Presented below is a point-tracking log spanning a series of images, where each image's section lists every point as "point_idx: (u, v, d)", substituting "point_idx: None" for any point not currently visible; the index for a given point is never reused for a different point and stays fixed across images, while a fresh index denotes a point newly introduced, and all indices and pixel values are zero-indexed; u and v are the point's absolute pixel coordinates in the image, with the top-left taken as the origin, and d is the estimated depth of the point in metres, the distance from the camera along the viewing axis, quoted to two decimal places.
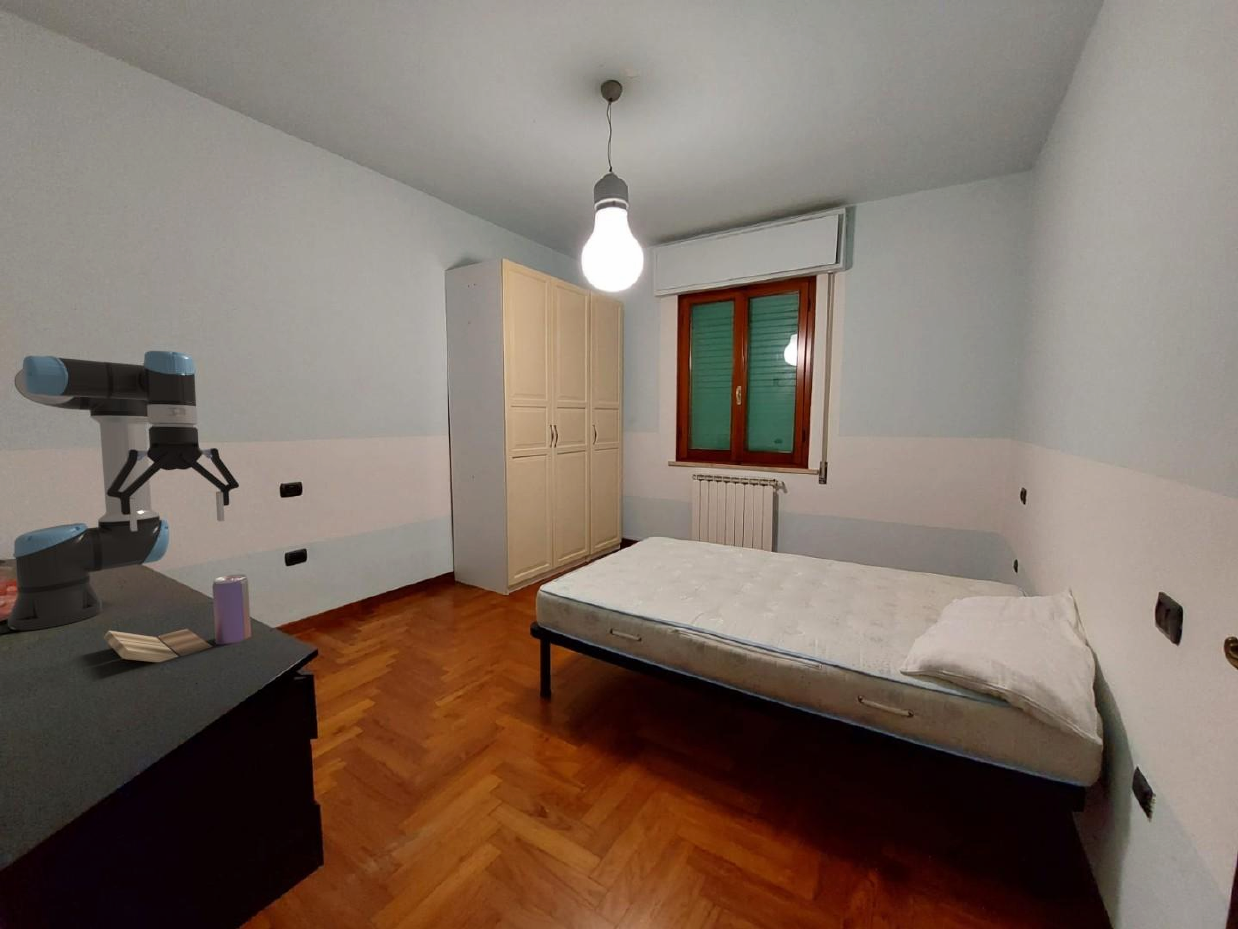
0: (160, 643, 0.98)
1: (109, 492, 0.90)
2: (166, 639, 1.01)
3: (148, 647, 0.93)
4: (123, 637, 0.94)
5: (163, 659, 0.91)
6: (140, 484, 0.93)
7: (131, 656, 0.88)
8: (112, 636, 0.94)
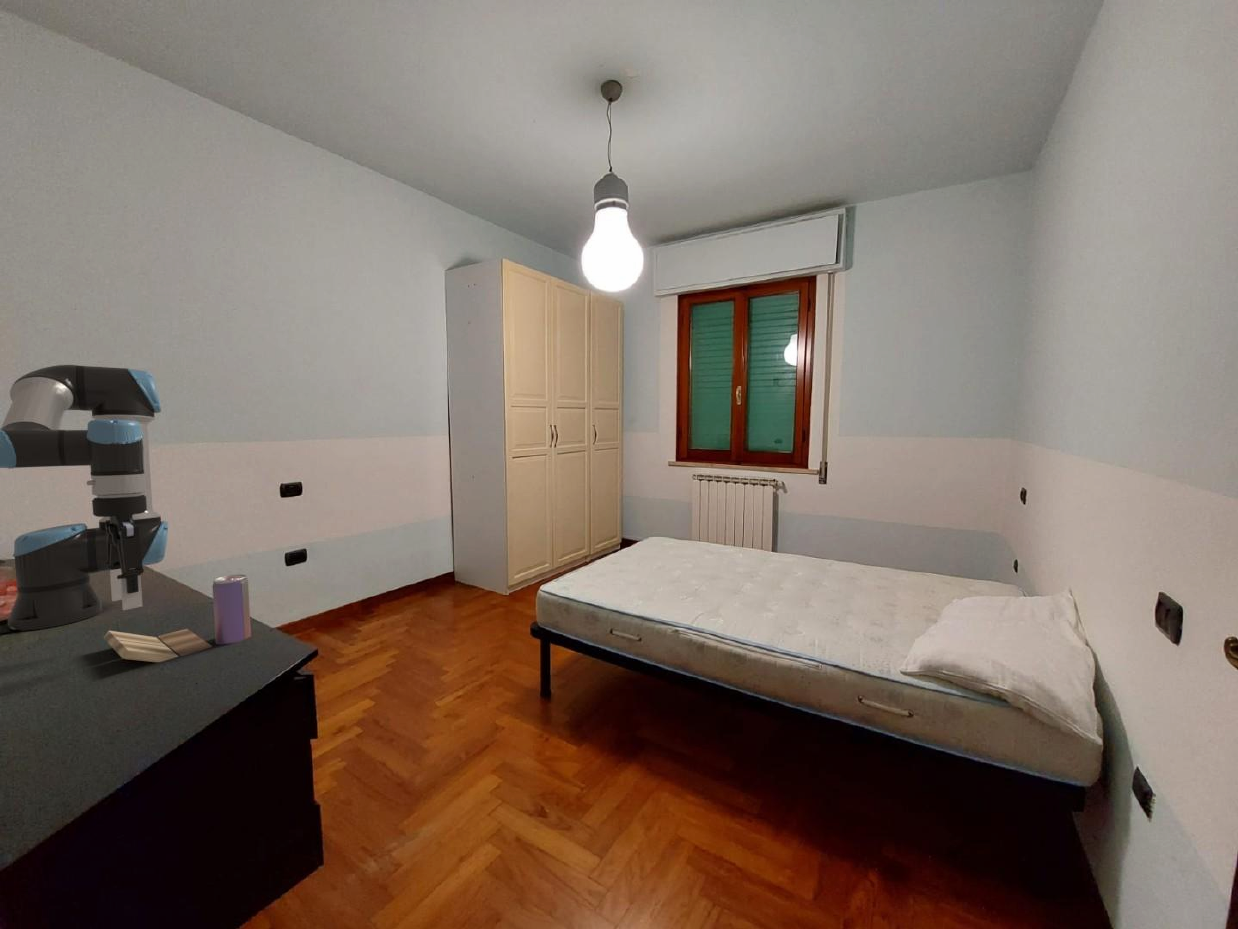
0: (160, 643, 0.98)
1: (106, 561, 0.98)
2: (166, 639, 1.01)
3: (148, 647, 0.93)
4: (123, 637, 0.94)
5: (163, 659, 0.91)
6: (110, 555, 0.96)
7: (131, 656, 0.88)
8: (112, 636, 0.94)
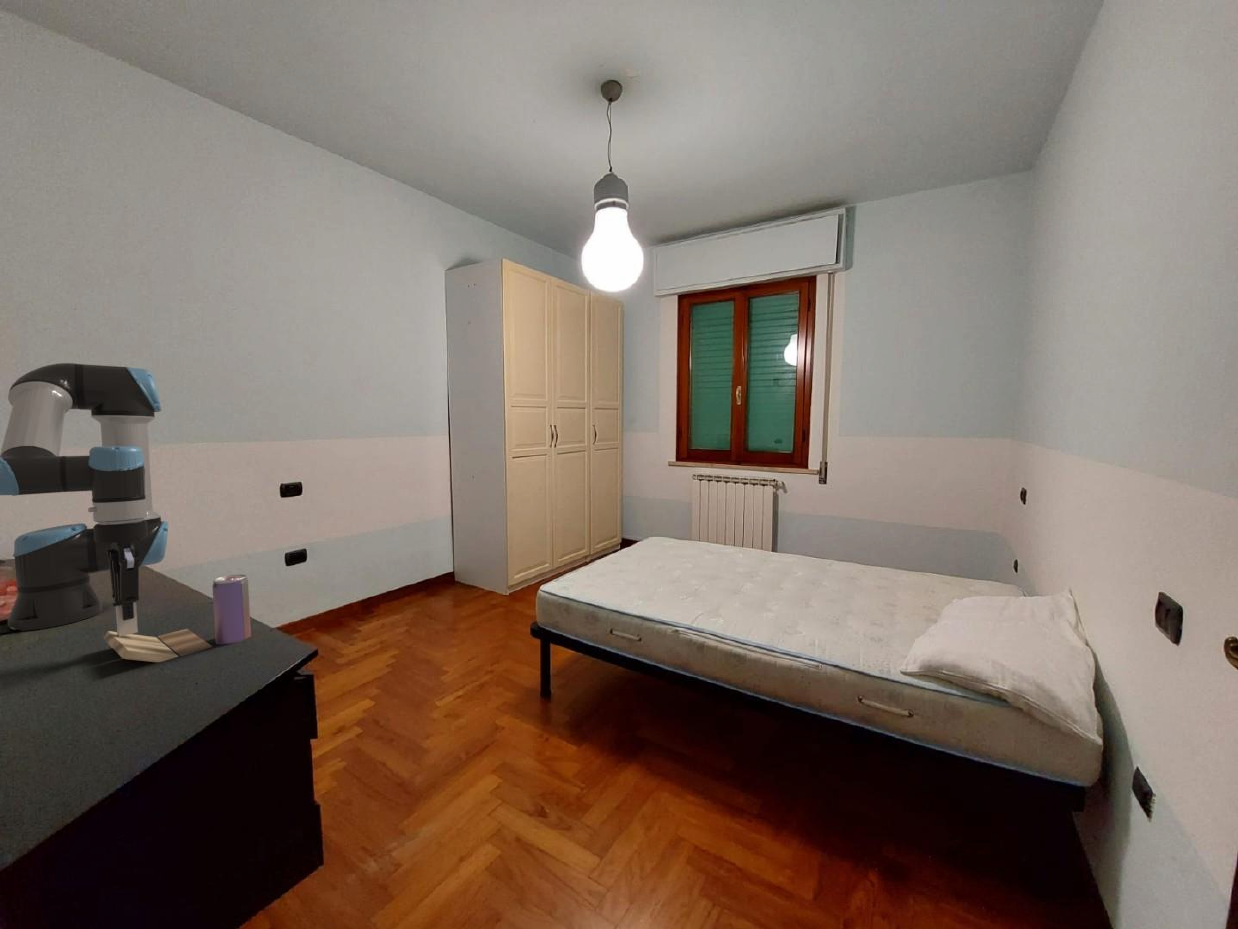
0: (160, 643, 0.98)
1: (112, 595, 0.96)
2: (166, 639, 1.01)
3: (148, 647, 0.93)
4: (123, 637, 0.94)
5: (163, 659, 0.91)
6: (115, 586, 0.95)
7: (131, 656, 0.88)
8: (112, 637, 0.94)
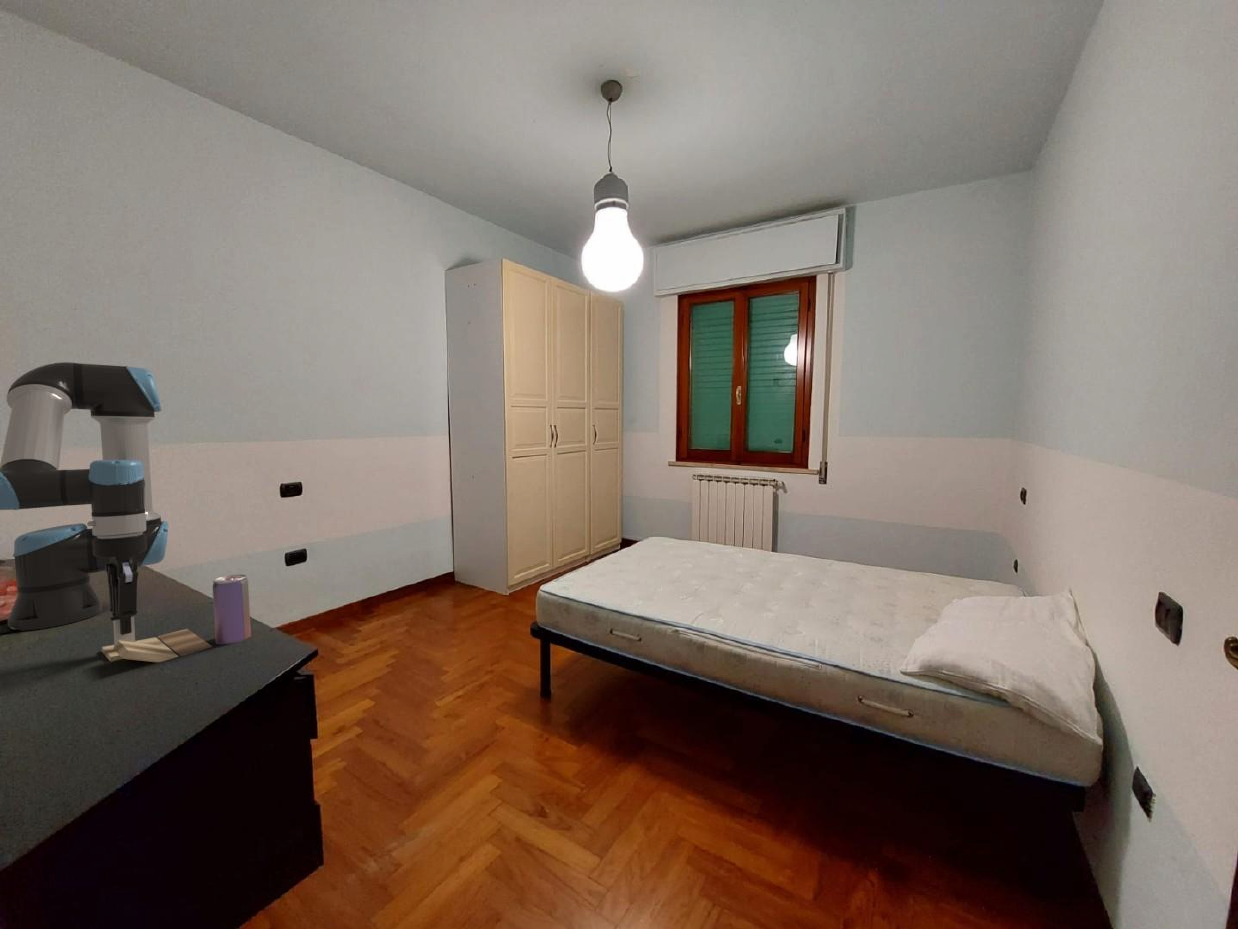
0: (160, 644, 0.98)
1: None
2: (166, 639, 1.01)
3: (148, 647, 0.93)
4: None
5: (163, 659, 0.91)
6: (113, 600, 0.94)
7: (131, 656, 0.88)
8: (106, 653, 0.93)
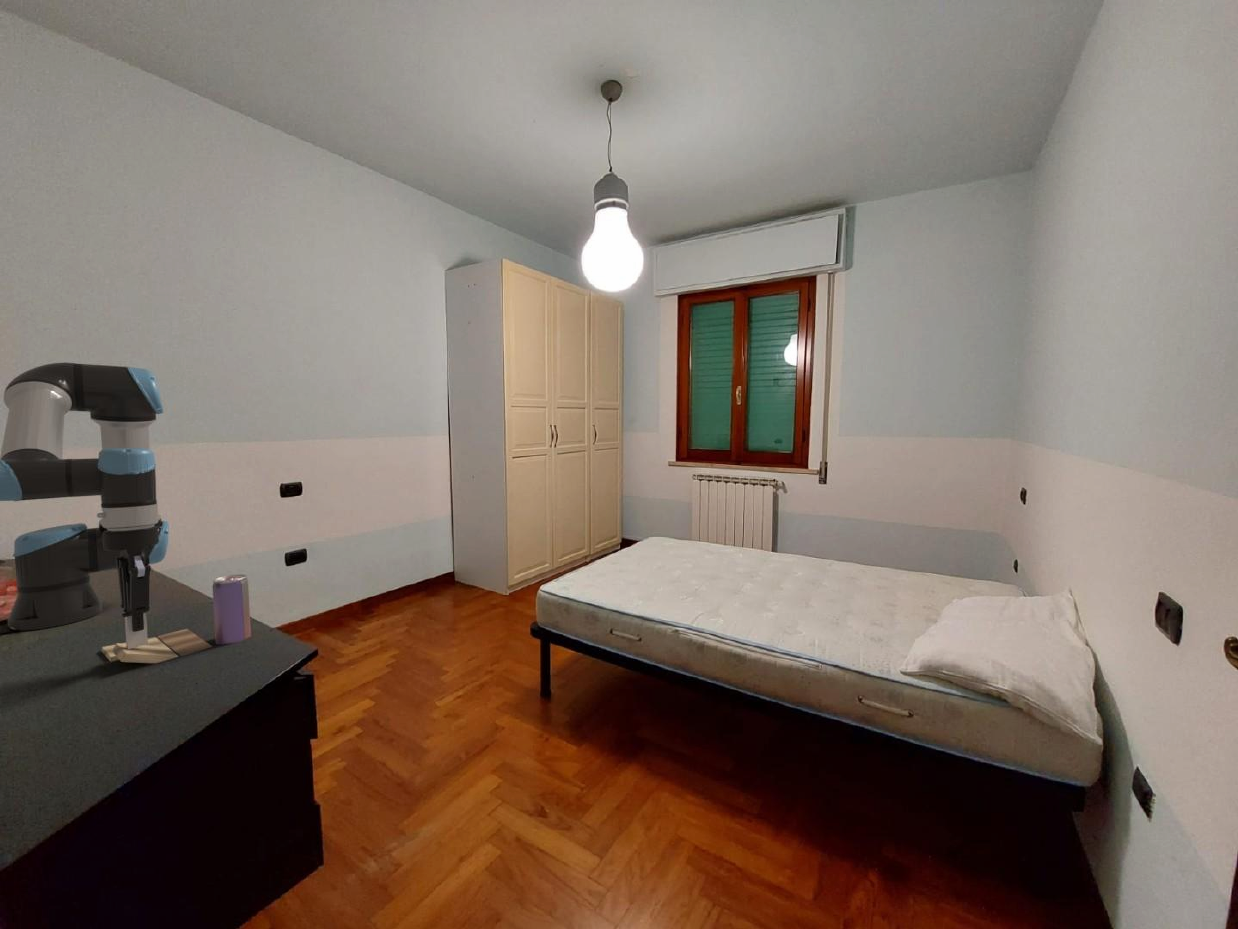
0: (160, 644, 0.98)
1: (121, 605, 0.91)
2: (166, 639, 1.01)
3: (147, 648, 0.93)
4: None
5: (163, 660, 0.91)
6: (124, 595, 0.90)
7: (130, 659, 0.87)
8: (106, 653, 0.93)
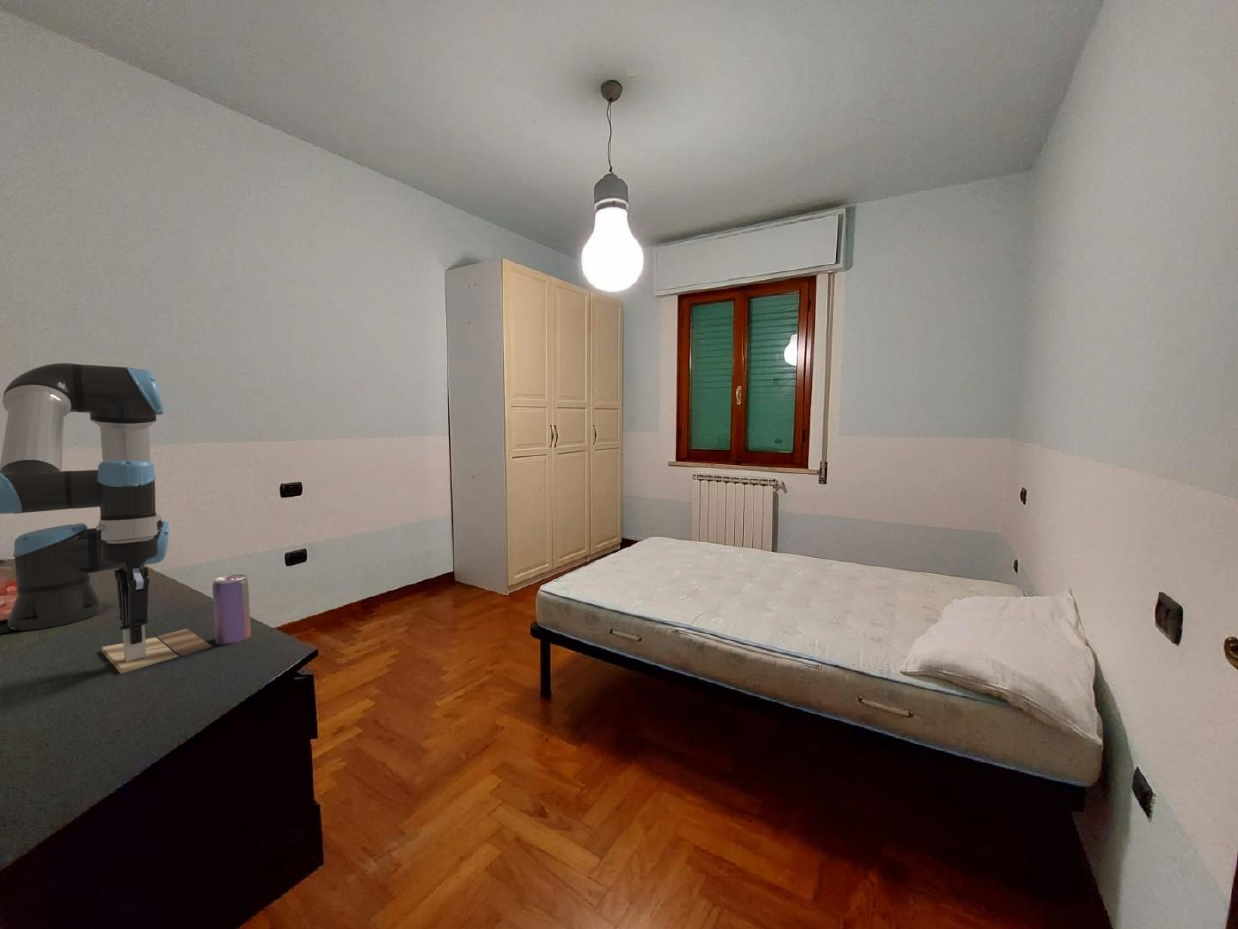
0: (160, 644, 0.98)
1: (119, 617, 0.91)
2: (166, 639, 1.01)
3: None
4: (118, 651, 0.94)
5: None
6: (122, 607, 0.90)
7: None
8: (106, 653, 0.93)
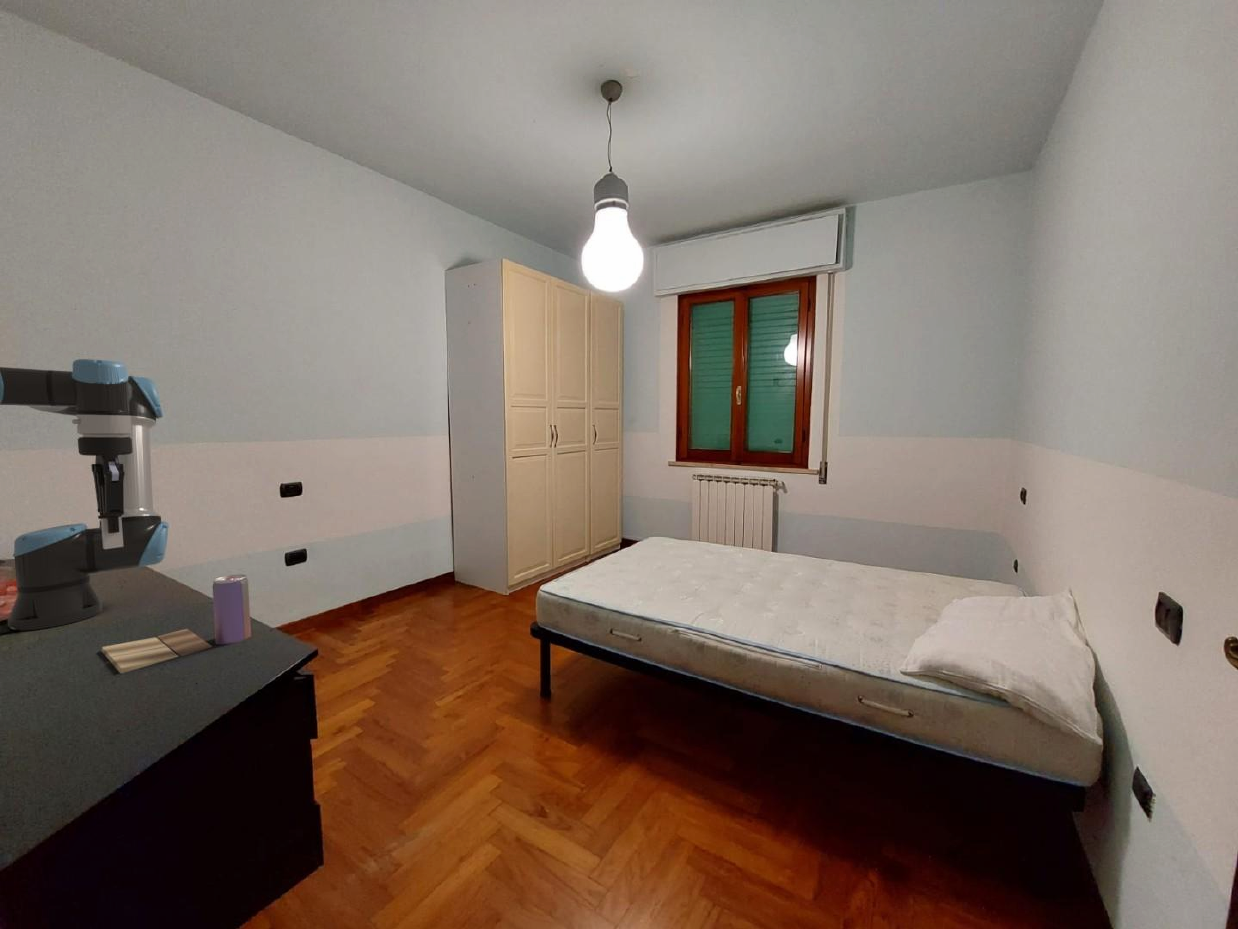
0: (160, 644, 0.98)
1: None
2: (166, 639, 1.01)
3: (145, 655, 0.93)
4: (118, 651, 0.94)
5: None
6: (100, 499, 0.96)
7: None
8: (106, 653, 0.93)
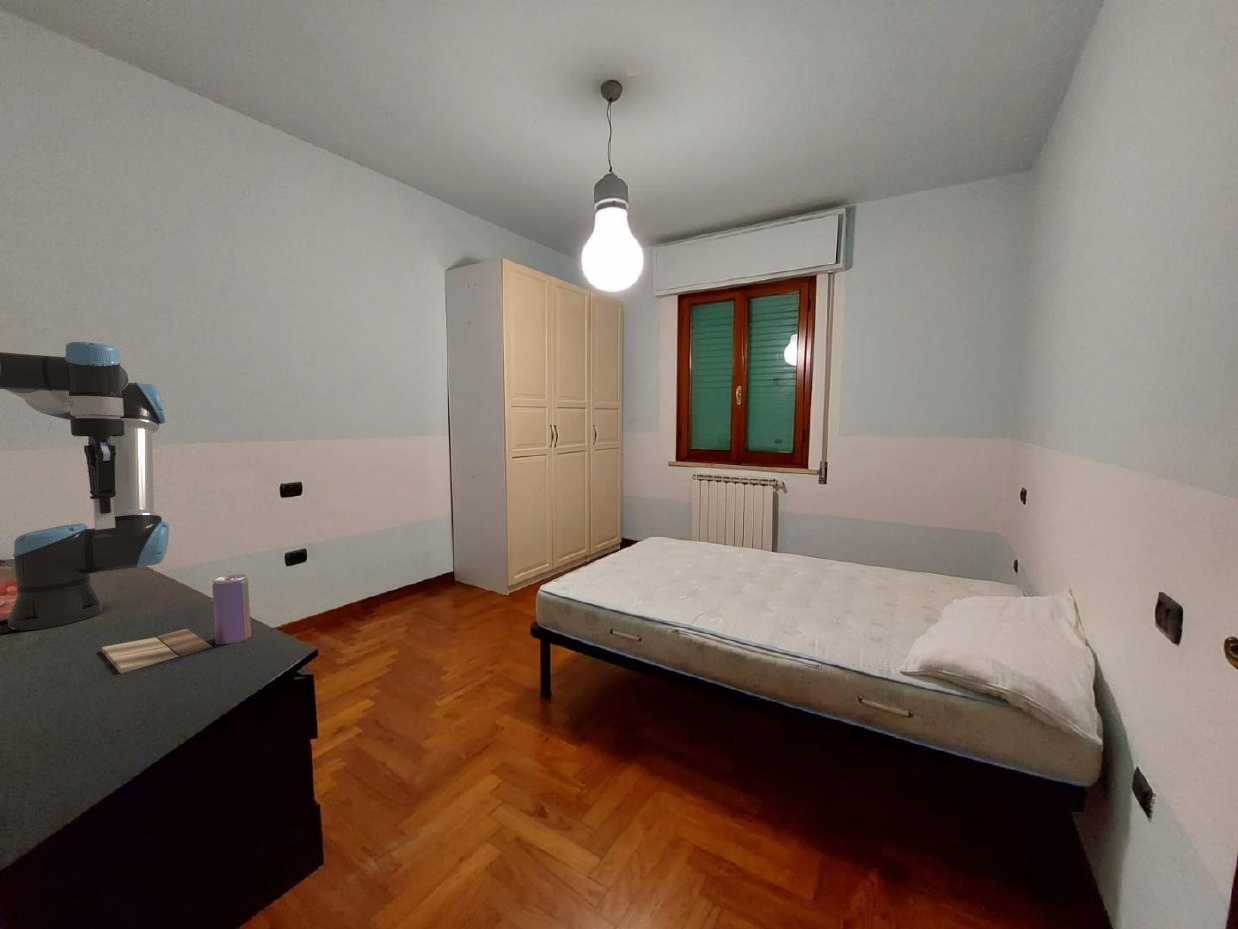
0: (160, 644, 0.98)
1: None
2: (166, 639, 1.01)
3: (145, 655, 0.93)
4: (118, 651, 0.94)
5: None
6: (92, 481, 0.98)
7: None
8: (106, 653, 0.93)
